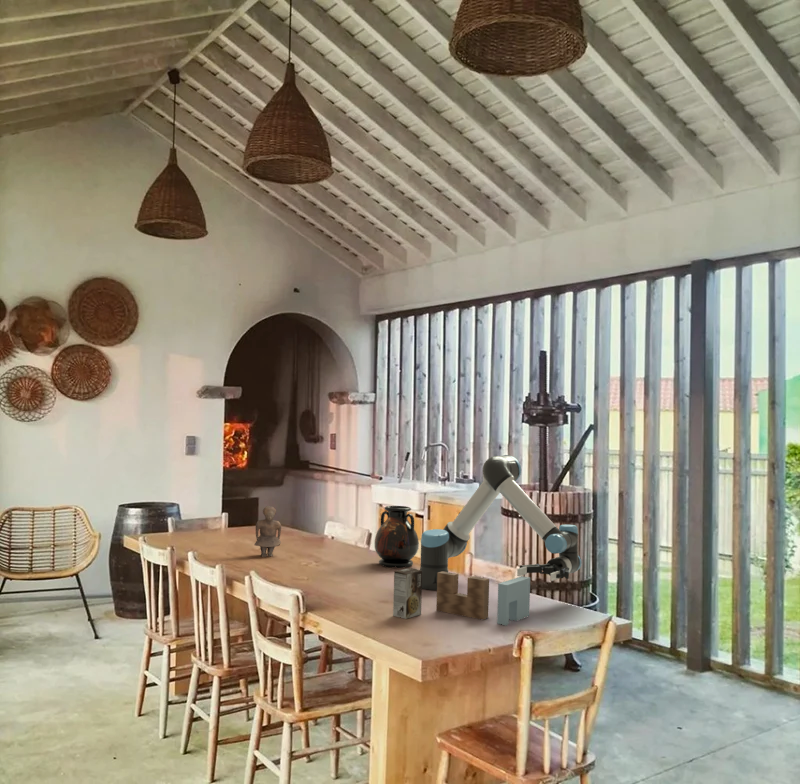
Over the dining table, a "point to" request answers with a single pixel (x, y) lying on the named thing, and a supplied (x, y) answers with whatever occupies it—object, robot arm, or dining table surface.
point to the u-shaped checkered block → (462, 596)
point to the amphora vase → (396, 538)
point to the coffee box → (407, 593)
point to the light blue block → (513, 600)
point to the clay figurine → (268, 532)
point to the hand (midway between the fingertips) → (534, 574)
